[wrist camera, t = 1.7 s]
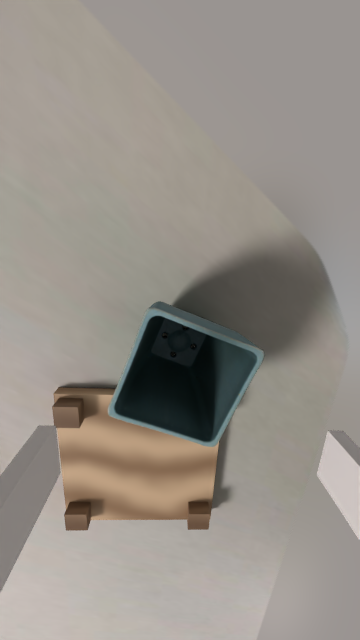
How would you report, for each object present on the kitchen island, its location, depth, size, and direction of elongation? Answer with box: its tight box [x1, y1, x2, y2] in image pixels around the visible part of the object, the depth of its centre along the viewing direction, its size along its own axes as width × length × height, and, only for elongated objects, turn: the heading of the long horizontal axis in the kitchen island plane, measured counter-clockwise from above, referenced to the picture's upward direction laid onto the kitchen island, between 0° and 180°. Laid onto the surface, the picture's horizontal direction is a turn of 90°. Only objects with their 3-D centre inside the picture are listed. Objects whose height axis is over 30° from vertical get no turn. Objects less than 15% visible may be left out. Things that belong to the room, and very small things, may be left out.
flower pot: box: [108, 302, 265, 447], centre depth 21 cm, size 9×9×9 cm
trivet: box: [52, 388, 219, 530], centre depth 28 cm, size 18×18×3 cm
